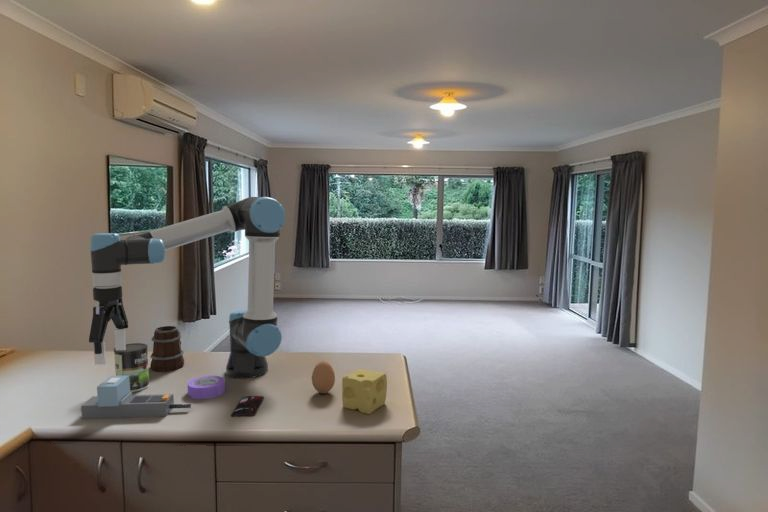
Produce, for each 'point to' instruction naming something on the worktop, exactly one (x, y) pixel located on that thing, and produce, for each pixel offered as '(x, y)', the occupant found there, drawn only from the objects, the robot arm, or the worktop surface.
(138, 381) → the coffee can
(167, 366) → the mug
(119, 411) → the power strip
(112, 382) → the block
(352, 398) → the cheese
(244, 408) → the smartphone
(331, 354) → the worktop surface
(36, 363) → the worktop surface
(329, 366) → the egg
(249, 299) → the robot arm
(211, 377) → the masking tape
